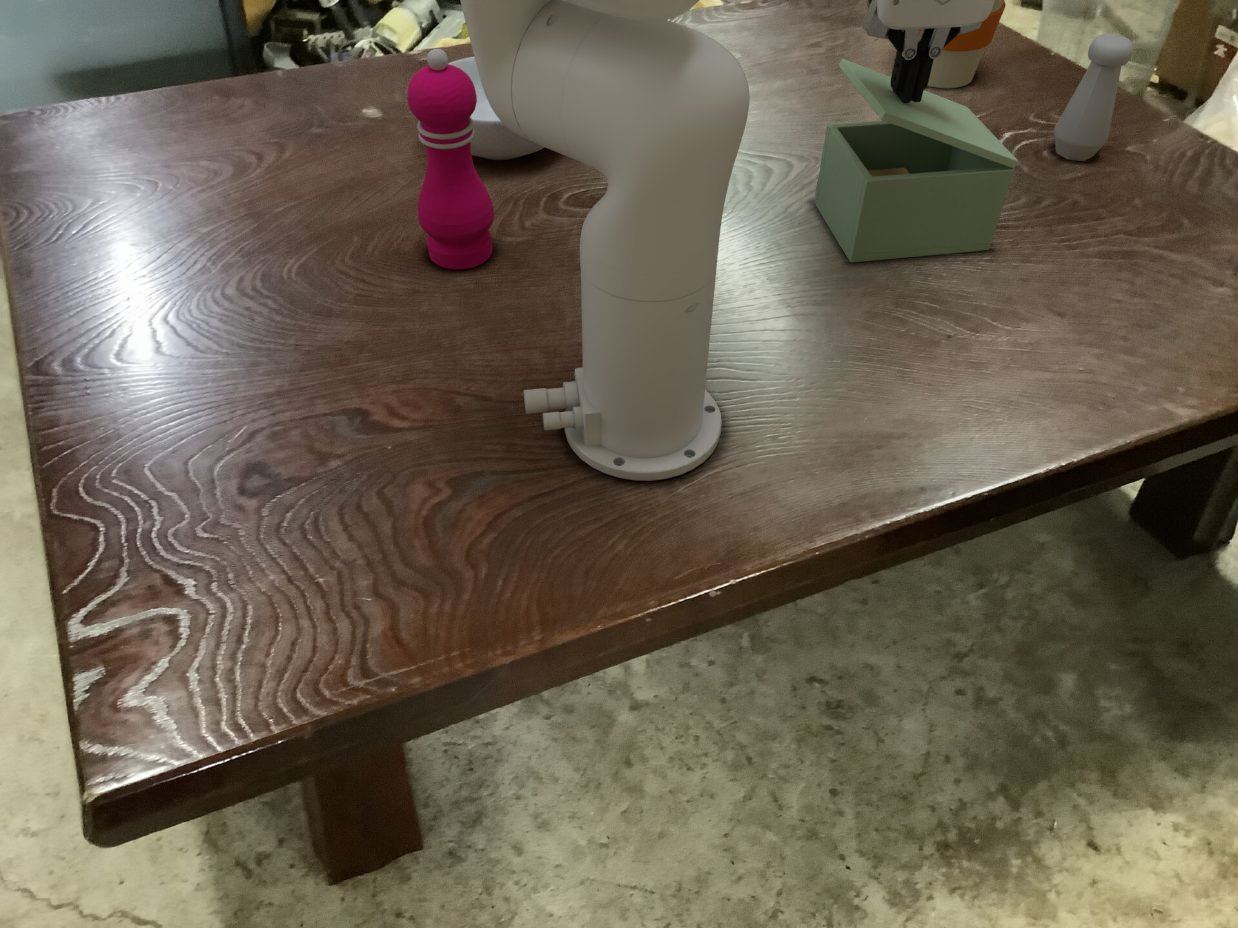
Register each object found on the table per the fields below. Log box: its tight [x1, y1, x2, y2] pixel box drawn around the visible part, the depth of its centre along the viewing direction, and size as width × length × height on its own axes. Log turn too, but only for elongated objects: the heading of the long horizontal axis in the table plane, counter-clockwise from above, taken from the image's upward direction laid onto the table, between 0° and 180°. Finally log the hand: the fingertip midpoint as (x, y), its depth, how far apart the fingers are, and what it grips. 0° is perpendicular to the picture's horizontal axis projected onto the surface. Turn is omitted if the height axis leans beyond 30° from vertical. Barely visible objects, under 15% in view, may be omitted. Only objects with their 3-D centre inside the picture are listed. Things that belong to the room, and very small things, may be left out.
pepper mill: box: [406, 48, 495, 270], centre depth 90 cm, size 7×7×20 cm
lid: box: [838, 58, 1019, 169], centre depth 93 cm, size 16×12×1 cm
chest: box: [813, 120, 1016, 263], centre depth 98 cm, size 15×12×9 cm
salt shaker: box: [1053, 33, 1134, 162], centre depth 108 cm, size 6×6×13 cm
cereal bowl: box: [448, 56, 545, 161], centre depth 111 cm, size 17×17×7 cm
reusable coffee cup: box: [918, 0, 1007, 89], centre depth 123 cm, size 13×13×15 cm
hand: (906, 96), depth 91 cm, fingers closed
